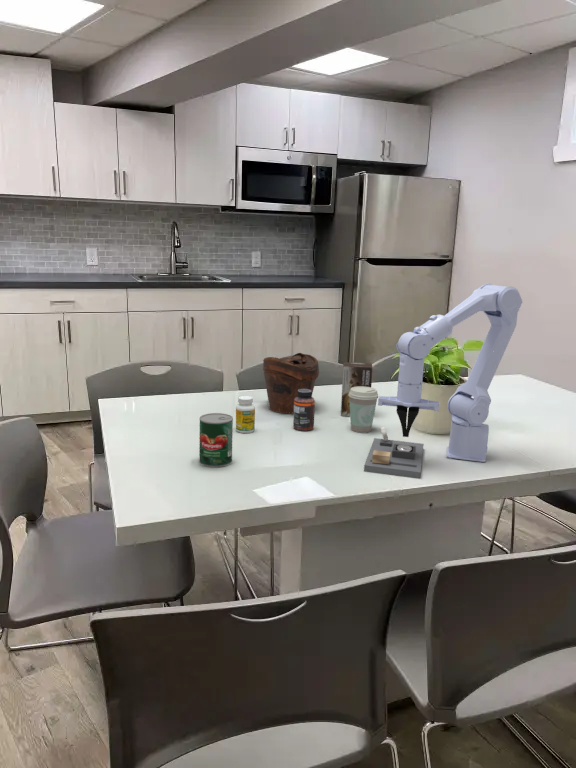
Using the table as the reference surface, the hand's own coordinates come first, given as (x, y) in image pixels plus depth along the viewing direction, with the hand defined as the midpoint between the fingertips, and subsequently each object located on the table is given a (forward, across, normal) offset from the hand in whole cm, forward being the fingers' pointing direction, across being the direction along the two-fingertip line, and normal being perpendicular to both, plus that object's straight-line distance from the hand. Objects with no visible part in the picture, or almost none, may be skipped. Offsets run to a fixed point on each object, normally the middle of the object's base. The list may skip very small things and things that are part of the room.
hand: (405, 435), depth 147 cm
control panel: (+6, -2, 0) cm, 7 cm away
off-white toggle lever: (+4, -5, +6) cm, 9 cm away
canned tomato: (+6, -44, -17) cm, 47 cm away
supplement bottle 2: (+7, -30, +16) cm, 34 cm away
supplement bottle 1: (+6, -45, +8) cm, 46 cm away
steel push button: (+5, 0, 0) cm, 5 cm away
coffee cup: (+7, -14, +21) cm, 26 cm away
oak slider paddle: (+5, -5, -7) cm, 10 cm away
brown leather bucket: (+7, -39, +35) cm, 53 cm away
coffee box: (+7, -18, +36) cm, 41 cm away
